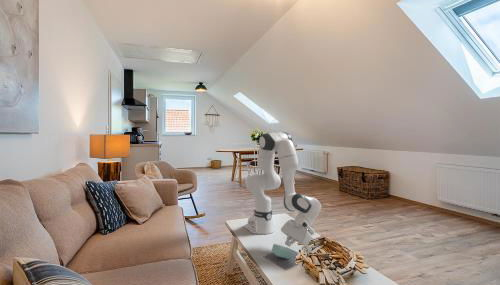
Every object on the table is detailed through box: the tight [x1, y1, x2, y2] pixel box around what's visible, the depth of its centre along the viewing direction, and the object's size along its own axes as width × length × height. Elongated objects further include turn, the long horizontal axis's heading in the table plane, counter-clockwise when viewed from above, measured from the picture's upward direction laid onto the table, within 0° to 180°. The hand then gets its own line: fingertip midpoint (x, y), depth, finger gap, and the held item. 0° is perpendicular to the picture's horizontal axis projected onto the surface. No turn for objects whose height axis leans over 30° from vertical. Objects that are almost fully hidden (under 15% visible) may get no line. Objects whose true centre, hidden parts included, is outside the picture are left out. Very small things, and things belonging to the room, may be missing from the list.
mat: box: [263, 246, 299, 271], centre depth 130 cm, size 17×18×1 cm
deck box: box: [270, 243, 292, 259], centre depth 130 cm, size 6×4×8 cm
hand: (287, 245), depth 131 cm, fingers closed
